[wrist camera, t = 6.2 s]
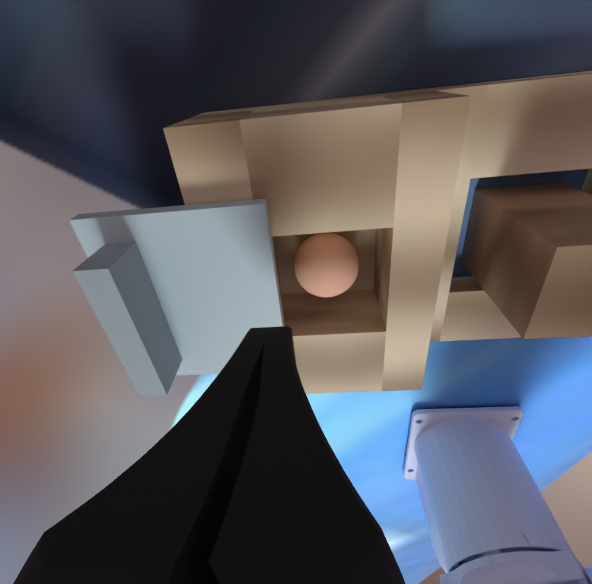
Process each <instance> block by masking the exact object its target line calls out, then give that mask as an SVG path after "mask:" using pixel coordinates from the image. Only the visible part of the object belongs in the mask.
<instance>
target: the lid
mask: <svg viewBox="0 0 592 584" xmlns="http://www.w3.org/2000/svg"><path fill="white" fill-rule="evenodd" d="M70 223H71V225H72V227H73V229H74V231H75V233H76V235H77V237H78V239H79V241H80V243H81V245H82V247H83V249H84V251H85V253H86V255H87V257H88V259H86V260H85V261H84V262H83V263H82V264H80V265H79V266H78V267H77V268H76V269H74V270H73V273H74V275H75V277H76V279H77V281H78V283H79V284H80V286H81V288H82V290H83V292H84V294H85V296H86V297H87V299H88V301H89V303H90V305H91V307H92V309H93V311H94V312H95V314H96V315H97V318H98V320H99V322H100V324H101V326H102V327H103V329H104V331H105V333H106V335H107V336H108V338H109V340H110V342H111V344H112V346H113V348H114V350H115V351H116V353H117V355H118V357H119V359H120V361H121V363H122V365H123V367H124V368H125V370H126V372H127V374H128V376H129V378H130V380H131V381H132V383H133V385H134V387H135V389H136V391H137V393H138V394H139V396H146V395H167V393H168V391H169V389H170V387H171V384H172V382H173V380H174V378H175V375H197V374H219V373H220V372H221V370H222V369H223V368H224V366H225V365H226V363H227V362H228V361H229V359H230V358H231V356H232V355H233V353H234V352H235V351H236V349H237V348H238V346H239V344H240V343H241V341H242V340H243V338H244V337H245V335H246V334H247V332H248V331H249V330H250V329H251V328H260V327H280V326H285V323H284V316H283V309H282V303H281V296H280V289H279V282H278V275H277V268H276V262H275V255H274V248H273V241H272V234H271V228H270V221H269V214H268V207H267V200H266V198H264V199H252V200H240V201H229V202H217V203H205V204H193V205H181V206H169V207H157V208H146V209H134V210H122V211H110V212H99V213H87V214H78V215H77V216H75V217H74V218H72V219H70Z"/></svg>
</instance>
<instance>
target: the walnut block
mask: <svg viewBox="0 0 592 584" xmlns="http://www.w3.org/2000/svg"><path fill="white" fill-rule="evenodd" d="M461 262H462V263H463V265H464V266H465V267H466V268H467V270H468V271H469V272H470V273H471V275H472V276H473V277H474V278H475V280H476V281H477V282H478V283H479V285H480V286H481V287H482V288H483V290H484V291H485V292H486V293H487V295H488V296H489V297H490V298H491V300H492V301H493V302H494V303H495V305H496V306H497V307H498V308H499V310H500V311H501V312H502V313H503V315H504V316H505V317H506V318H507V320H508V321H509V322H510V323H511V325H512V326H513V327H514V328H515V330H516V331H517V332H518V333H519V335H520V336H521V337H522V338H523V339H542V338H563V337H585V336H592V195H590V194H588V193H586V192H583V191H581V190H579V189H576V188H574V187H572V186H569V185H567V184H565V183H563V182H556V183H544V184H532V185H520V186H507V187H495V188H483V189H475V192H474V197H473V202H472V207H471V212H470V217H469V222H468V227H467V232H466V237H465V242H464V247H463V252H462V257H461Z"/></svg>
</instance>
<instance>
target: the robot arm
mask: <svg viewBox="0 0 592 584" xmlns="http://www.w3.org/2000/svg"><path fill="white" fill-rule="evenodd" d="M523 415H524V412H523V410H522V409H521V408H520V407H517V406H513V407H480V408H447V409H418V410H415V411H414V412H413V413H412V417H411V424H410V430H409V437H408V443H407V450H406V457H405V463H404V470H403V475H404V478H406V479H416V483H417V486H418V490H419V494H420V498H421V502H422V506H423V510H424V513H425V517H426V521H427V525H428V529H429V533H430V537H431V540H432V544H433V548H434V551H435V554H436V557H437V559H438V561H439V563H440V565H441V566H442V568H443V569H444V571H445V572H446V574H443V575H440V576H439V577H440V581H441V584H592V567H590V568H586V569H585V567H584V566H583V565H582V564H581V562H580V561H579V560H578V559H577V558H576V556H575V555H574V553H573V551H572V549H571V548H570V546H569V544H568V542H567V540H566V538H565V536H564V535H563V533H562V531H561V530H560V528H559V525H558V524H557V522H556V520H555V518H554V516H553V515H552V513H551V511H550V509H549V507H548V505H547V504H546V502H545V500H544V498H543V496H542V494H541V493H540V491H539V489H538V487H537V485H536V484H535V482H534V480H533V478H532V476H531V474H530V473H529V471H528V469H527V467H526V465H525V463H524V462H523V460H522V458H521V456H520V454H519V453H518V451H517V449H516V447H515V445H514V443H513V442H512V439H513V437H514V435H515V433H516V430H517V428H518V426H519V424H520V421H521V419H522V417H523ZM14 584H405V581H404V579H403V576H402V574H401V571H400V569H399V566H398V564H397V562H396V560H395V557H394V555H393V553H392V551H391V549H390V547H389V544H388V542H387V540H386V538H385V536H384V533H383V531H382V529H381V527H380V526H379V524H378V523H377V521H376V520H375V518H374V517H373V515H372V514H371V512H370V511H369V509H368V508H367V506H366V505H365V503H364V502H363V500H362V499H361V497H360V496H359V494H358V493H357V491H356V489H355V488H354V486H353V485H352V483H351V481H350V480H349V478H348V477H347V475H346V473H345V472H344V470H343V468H342V466H341V465H340V463H339V461H338V459H337V457H336V456H335V454H334V452H333V450H332V449H331V447H330V445H329V443H328V441H327V439H326V437H325V435H324V433H323V431H322V429H321V427H320V425H319V423H318V421H317V419H316V417H315V415H314V413H313V410H312V408H311V406H310V403H309V401H308V398H307V396H306V393H305V391H304V388H303V385H302V382H301V379H300V376H299V373H298V370H297V365H296V358H295V350H294V343H293V335H292V329H291V328H290V327H288V326H280V327H260V328H251V329H250V330H249V331H248V332H247V334H246V335H245V337H244V338H243V340H242V341H241V343H240V344H239V346H238V348H237V349H236V351H235V352H234V353H233V355H232V356H231V358H230V359H229V361H228V362H227V363H226V365H225V366H224V368H223V369H222V370H221V372H220V373H219V374H218V376H217V377H216V378H215V380H214V381H213V382H212V383H211V385H210V386H209V387H208V388H207V390H206V391H205V392H204V393H203V395H202V396H201V397H200V398H199V399H198V401H197V402H196V403H195V404H194V405H193V406H192V407H191V409H190V410H189V411H188V412H187V413H186V414H185V415H184V416H183V417H182V418H181V419H180V420H179V422H178V423H177V424H176V425H175V426H174V427H173V428H172V429H171V430H170V431H169V432H168V433H167V434H166V435H165V436H164V437H163V438H162V439H160V440H159V442H157V443H156V444H155V445H154V446H153V447H152V448H151V449H150V450H149V451H148V452H147V453H146V454H145V455H143V456H142V457H141V458H140V459H139V460H138V461H137V462H135V463H134V464H133V465H132V466H131V467H130V468H128V469H127V470H126V471H125V472H123V473H122V474H121V475H120V476H119V477H117V478H116V479H115V480H114V481H113V482H112V483H110V484H109V485H108V486H106V487H105V488H104V489H103V490H101V491H100V492H99V493H98V494H96V495H95V496H94V497H92V498H91V499H90V500H88V501H87V502H85V503H84V504H83V505H81V506H80V507H79V508H77V509H76V510H75V511H73V512H72V513H70V514H69V515H68V516H66V517H65V518H64V519H62V520H61V521H60V522H58V523H57V524H55V525H54V526H53V527H51V528H50V529H48V530H47V531H45V532H44V534H43V535H42V537H41V538H40V540H39V541H38V543H37V545H36V546H35V548H34V549H33V551H32V552H31V554H30V556H29V558H28V559H27V561H26V563H25V564H24V566H23V568H22V570H21V571H20V573H19V575H18V577H17V578H16V580H15V582H14Z"/></svg>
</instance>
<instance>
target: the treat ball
mask: <svg viewBox="0 0 592 584" xmlns="http://www.w3.org/2000/svg"><path fill="white" fill-rule="evenodd" d="M358 270H359V260H358V255H357V253H356V250H355V248H354V247H353V246H352V244H351V243H350V242H349V241H348V240H347V239H345V238H344V237H342V236H340V235H338V234H335V233H319V234H315V235H313V236H311V237H309V238H308V239H307V240H305V241H304V242H303V243H302V244H301V246H300V247H299V249H298V250H297V253H296V255H295V259H294V271H295V275H296V278H297V280H298V282H299V283H300V285H301V286H302V287H303V288H304V289H305V290H306V291H308V292H309V293H311V294H313V295H315V296H319V297H333V296H337V295H340V294H342V293H343V292H345V291H346V290H347V289H349V287H350V286H351V285H352V284H353V283H354V281H355V279H356V277H357V274H358Z"/></svg>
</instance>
